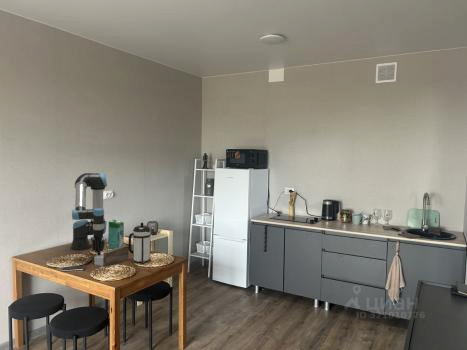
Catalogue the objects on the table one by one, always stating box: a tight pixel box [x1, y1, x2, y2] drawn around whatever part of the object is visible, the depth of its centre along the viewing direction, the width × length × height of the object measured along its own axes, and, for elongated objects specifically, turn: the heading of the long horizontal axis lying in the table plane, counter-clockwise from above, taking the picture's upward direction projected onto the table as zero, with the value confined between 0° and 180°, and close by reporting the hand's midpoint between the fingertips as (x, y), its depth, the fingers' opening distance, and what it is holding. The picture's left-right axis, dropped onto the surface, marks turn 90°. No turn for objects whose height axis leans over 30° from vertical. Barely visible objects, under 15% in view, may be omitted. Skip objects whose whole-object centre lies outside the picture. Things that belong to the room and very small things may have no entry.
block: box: [93, 253, 104, 267], centre depth 259 cm, size 8×10×6 cm
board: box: [102, 245, 129, 267], centre depth 262 cm, size 4×22×10 cm, turn 156°
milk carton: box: [107, 219, 125, 249], centre depth 295 cm, size 9×9×25 cm
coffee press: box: [128, 222, 152, 264], centre depth 265 cm, size 17×16×30 cm
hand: (97, 260), depth 262 cm, fingers closed
